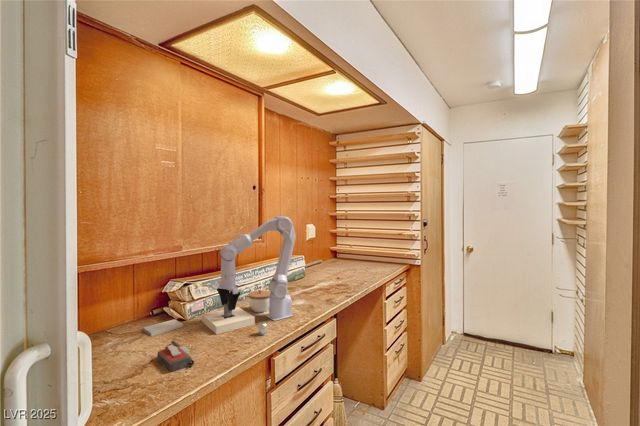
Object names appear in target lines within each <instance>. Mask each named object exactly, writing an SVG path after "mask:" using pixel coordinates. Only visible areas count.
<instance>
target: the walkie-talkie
mask: <svg viewBox="0 0 640 426" xmlns="http://www.w3.org/2000/svg"><path fill="white" fill-rule="evenodd" d="M156 356H157V357H156V359H157V360H158V361H159V363H161V365H162V366H163V367H165V369H166V370H167V371H168V372H169V373H174V372H177V371H179V370H182V369H186V368H188V367H191V366H193V365H194V364H195V361H194V360H193V359H192V357H191V356H190V349H189V348H188V347H187V346H186V345H182V346H181V345H180V344H179V343H178V342H176V340H171V344H170V345H167V346H165V348H164V349H161V350H159V351H157V355H156Z"/></svg>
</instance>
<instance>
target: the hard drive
mask: <svg viewBox="0 0 640 426" xmlns="http://www.w3.org/2000/svg"><path fill="white" fill-rule="evenodd" d="M183 327H185V325H184V323H183V322H180V321H178V320H177V319H175V318H173V319H171V320H167V321H163V322H160V323H156V324H151V325H148V326H144V327H142V331H143V332H144V333H145V334H147V335H149V336H150V337H153V336H157V335H159V334H160V335H161V334H163V333H166V332H170V331H173V330H177V329H180V328H183Z"/></svg>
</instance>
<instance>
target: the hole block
mask: <svg viewBox="0 0 640 426" xmlns="http://www.w3.org/2000/svg"><path fill="white" fill-rule="evenodd" d="M201 323H202V324H204V325H205V326H206V327H207V328H209V330H211V331H212V332H213V333H214V334H215V335H220V334H223V333H227V332H231V331H235V330H240V329H243V328H247V327H251V326H254V325H256V316H254V315H252V314H250V313H249V312H248V311H245V310H243V309H242V308H241V307H239V306H236V307H235V310H232V317H230V318H226V319H225V318H224V309H221V310H217V311H211V312H207V313H201Z"/></svg>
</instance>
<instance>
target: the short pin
mask: <svg viewBox="0 0 640 426" xmlns="http://www.w3.org/2000/svg"><path fill="white" fill-rule="evenodd" d="M257 331H258V332H257V334H258V336H260V337H265V336H267V334H268V322H264V321H261V322H258V325H257Z"/></svg>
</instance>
